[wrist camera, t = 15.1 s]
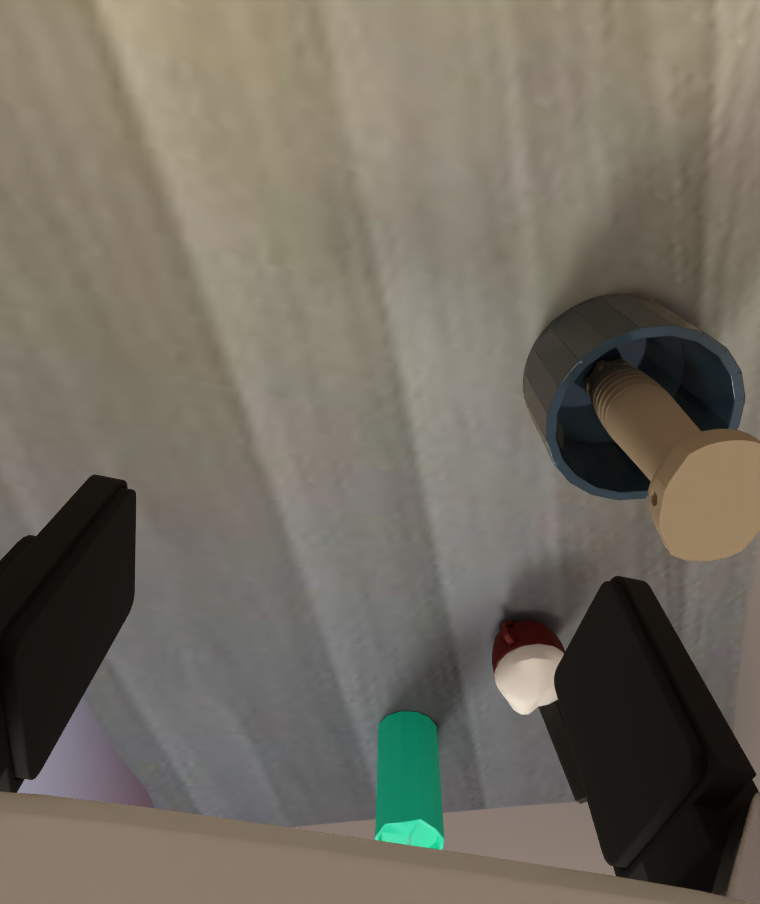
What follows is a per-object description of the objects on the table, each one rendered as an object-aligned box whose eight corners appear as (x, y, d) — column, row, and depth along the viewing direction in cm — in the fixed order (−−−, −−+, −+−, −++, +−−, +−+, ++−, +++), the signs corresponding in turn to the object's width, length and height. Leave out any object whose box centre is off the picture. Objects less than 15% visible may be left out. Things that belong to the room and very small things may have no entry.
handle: (649, 328, 37) (792, 435, 24) (638, 418, 40) (758, 557, 27) (573, 335, 37) (671, 444, 24) (567, 424, 40) (652, 564, 27)
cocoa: (482, 603, 49) (506, 730, 39) (556, 594, 48) (600, 721, 38) (493, 678, 54) (517, 810, 43) (561, 670, 53) (602, 802, 42)
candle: (449, 731, 57) (461, 864, 47) (405, 756, 60) (407, 888, 49) (409, 702, 56) (412, 834, 45) (365, 728, 58) (358, 860, 47)
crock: (557, 276, 36) (590, 305, 30) (719, 315, 37) (784, 350, 31) (501, 429, 41) (520, 480, 35) (644, 459, 42) (687, 515, 36)
